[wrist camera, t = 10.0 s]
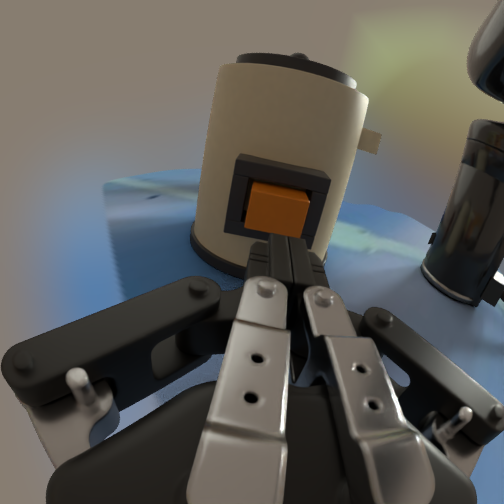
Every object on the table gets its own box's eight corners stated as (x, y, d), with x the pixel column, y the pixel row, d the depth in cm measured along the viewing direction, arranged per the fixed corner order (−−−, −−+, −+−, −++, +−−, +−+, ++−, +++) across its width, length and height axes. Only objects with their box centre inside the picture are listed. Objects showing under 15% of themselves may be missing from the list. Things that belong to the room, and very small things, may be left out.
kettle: (212, 198, 38) (236, 60, 29) (321, 220, 39) (355, 88, 30) (165, 277, 21) (201, 10, 12) (357, 312, 21) (436, 75, 13)
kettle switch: (246, 214, 19) (253, 179, 18) (296, 224, 19) (305, 190, 18) (244, 228, 17) (251, 189, 16) (299, 239, 17) (310, 202, 16)
